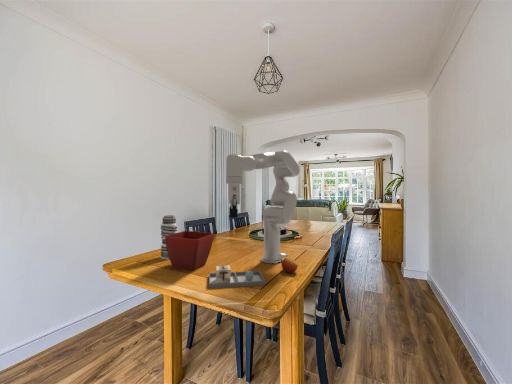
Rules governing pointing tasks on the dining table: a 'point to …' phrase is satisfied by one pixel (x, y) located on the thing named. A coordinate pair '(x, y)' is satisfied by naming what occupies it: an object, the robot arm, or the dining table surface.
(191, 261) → the plant pot
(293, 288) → the dining table surface
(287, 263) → the fruit
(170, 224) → the decorative candle
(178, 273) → the dining table surface
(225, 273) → the letter cube
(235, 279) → the compartment box
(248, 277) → the teal ball
